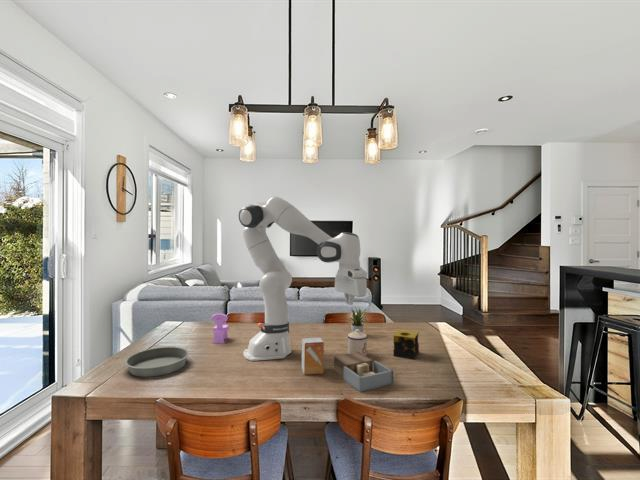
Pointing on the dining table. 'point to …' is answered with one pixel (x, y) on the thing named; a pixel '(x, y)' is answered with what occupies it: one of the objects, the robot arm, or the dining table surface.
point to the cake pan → (156, 361)
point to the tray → (369, 378)
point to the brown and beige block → (351, 362)
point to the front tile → (367, 373)
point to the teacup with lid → (357, 342)
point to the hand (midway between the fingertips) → (349, 304)
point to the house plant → (358, 320)
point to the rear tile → (362, 369)
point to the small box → (312, 355)
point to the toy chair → (220, 328)
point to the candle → (406, 344)
